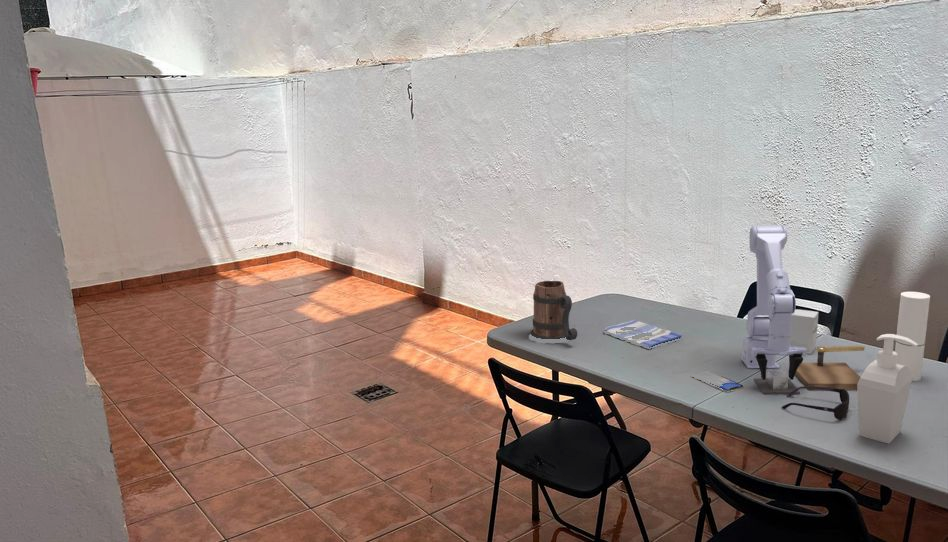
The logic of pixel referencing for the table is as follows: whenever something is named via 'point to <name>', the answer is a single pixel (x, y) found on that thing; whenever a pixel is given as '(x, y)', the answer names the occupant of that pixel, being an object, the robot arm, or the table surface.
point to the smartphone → (729, 385)
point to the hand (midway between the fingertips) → (777, 378)
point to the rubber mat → (768, 390)
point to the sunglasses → (838, 411)
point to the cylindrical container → (912, 331)
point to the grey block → (777, 379)
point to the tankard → (552, 312)
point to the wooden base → (827, 375)
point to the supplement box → (804, 329)
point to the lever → (840, 349)
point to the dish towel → (657, 333)
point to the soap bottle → (884, 393)
